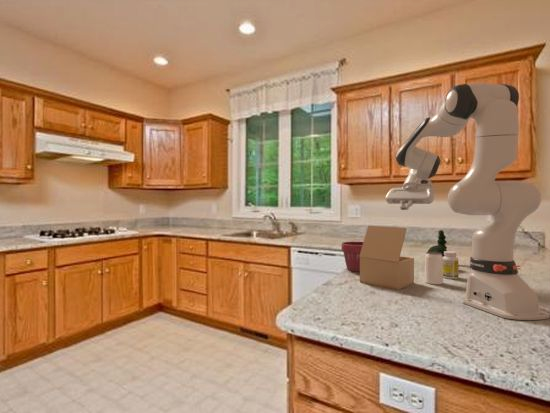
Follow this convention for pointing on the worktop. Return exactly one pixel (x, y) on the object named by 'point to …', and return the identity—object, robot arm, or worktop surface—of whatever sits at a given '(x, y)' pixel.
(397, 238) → the flap
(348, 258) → the plant pot
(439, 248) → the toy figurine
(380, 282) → the carton
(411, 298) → the worktop surface
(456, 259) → the pill bottle
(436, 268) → the can
